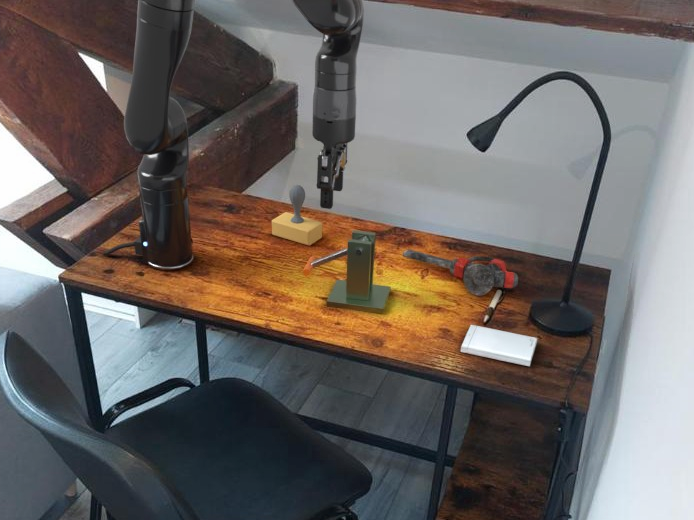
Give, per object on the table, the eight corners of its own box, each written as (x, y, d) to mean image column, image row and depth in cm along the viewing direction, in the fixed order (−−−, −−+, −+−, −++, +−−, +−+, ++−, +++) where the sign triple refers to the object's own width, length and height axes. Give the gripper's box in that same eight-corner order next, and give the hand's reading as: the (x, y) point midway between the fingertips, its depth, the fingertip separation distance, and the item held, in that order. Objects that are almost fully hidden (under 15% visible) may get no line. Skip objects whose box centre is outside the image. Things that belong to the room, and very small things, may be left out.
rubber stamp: (322, 237, 181) (323, 186, 174) (308, 246, 176) (309, 194, 170) (285, 226, 184) (285, 176, 178) (271, 235, 180) (270, 184, 173)
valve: (532, 285, 170) (504, 304, 158) (425, 256, 182) (391, 271, 170) (538, 256, 168) (509, 273, 156) (428, 229, 179) (394, 242, 167)
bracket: (326, 306, 155) (327, 243, 148) (336, 284, 163) (338, 223, 155) (382, 313, 154) (386, 250, 146) (390, 291, 161) (394, 230, 154)
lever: (305, 279, 155) (299, 268, 154) (313, 266, 159) (307, 255, 158) (368, 254, 149) (362, 243, 148) (373, 242, 154) (367, 231, 153)
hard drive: (537, 337, 147) (471, 322, 149) (530, 360, 140) (461, 345, 143) (536, 344, 148) (470, 330, 150) (529, 368, 141) (460, 352, 144)
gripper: (322, 97, 147) (320, 182, 156) (303, 121, 135) (302, 211, 144) (363, 102, 146) (358, 187, 155) (347, 126, 134) (343, 216, 143)
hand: (331, 198), depth 149 cm, fingers open, 8 cm apart
